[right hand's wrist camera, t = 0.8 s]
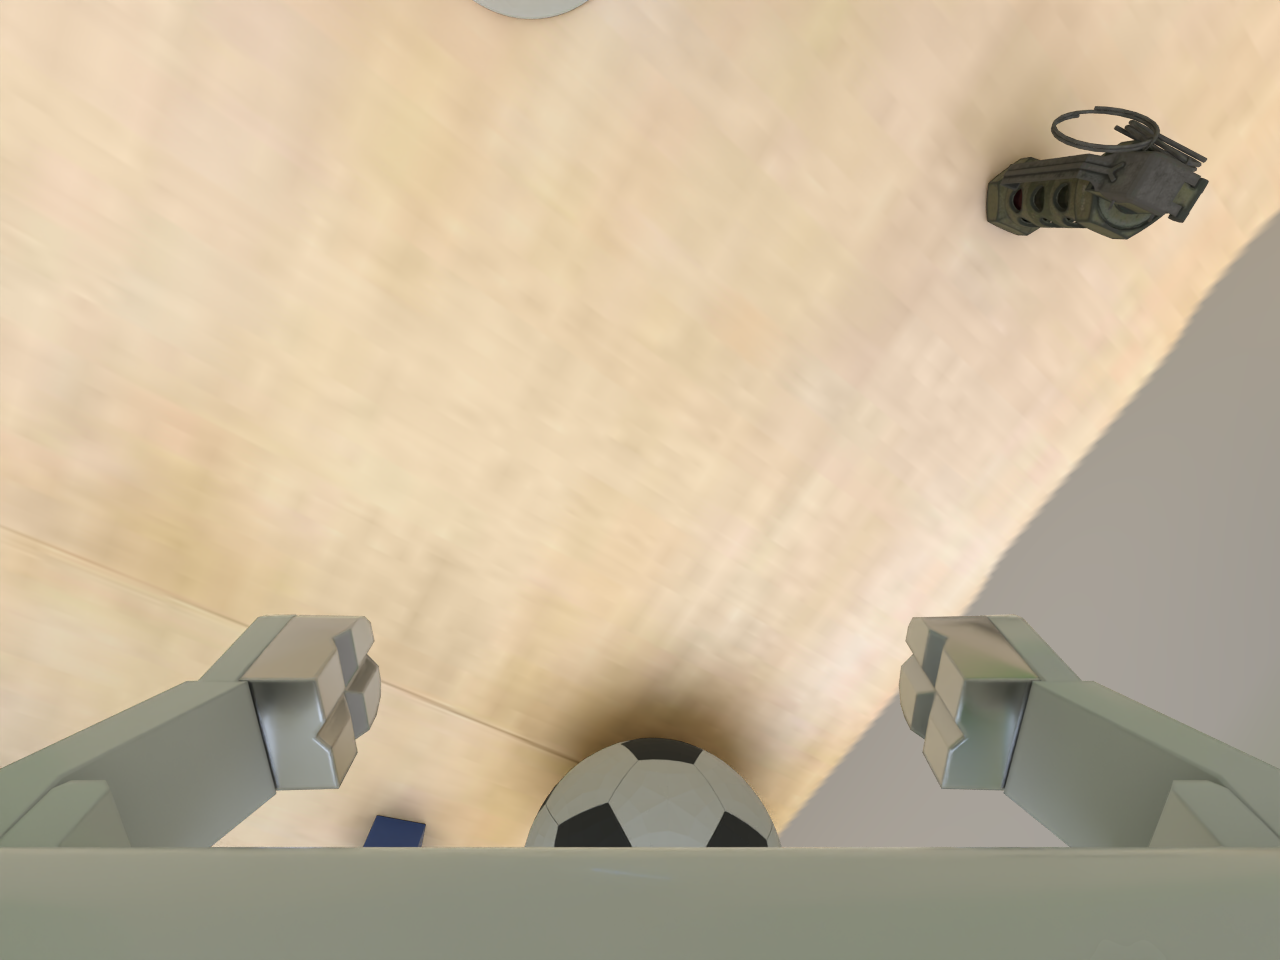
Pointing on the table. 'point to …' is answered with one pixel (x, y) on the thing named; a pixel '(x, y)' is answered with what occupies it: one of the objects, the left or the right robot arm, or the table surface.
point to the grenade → (1099, 183)
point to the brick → (395, 833)
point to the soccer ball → (652, 801)
